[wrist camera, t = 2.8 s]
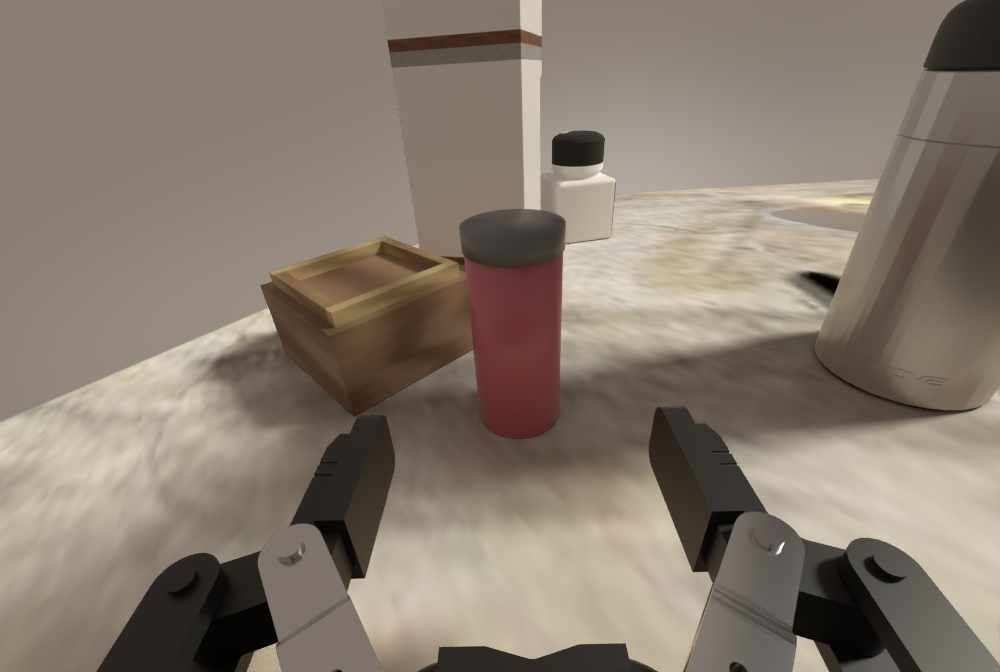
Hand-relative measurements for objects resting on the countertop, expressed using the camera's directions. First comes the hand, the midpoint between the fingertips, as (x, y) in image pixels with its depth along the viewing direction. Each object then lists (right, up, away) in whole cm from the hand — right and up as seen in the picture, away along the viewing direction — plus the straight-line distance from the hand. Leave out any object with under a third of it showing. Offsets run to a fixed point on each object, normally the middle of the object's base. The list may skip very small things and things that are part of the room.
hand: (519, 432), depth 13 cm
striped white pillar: (-2, +12, +38) cm, 39 cm away
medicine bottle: (+9, +16, +43) cm, 47 cm away
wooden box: (-10, +2, +21) cm, 24 cm away
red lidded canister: (+1, -2, +14) cm, 15 cm away
